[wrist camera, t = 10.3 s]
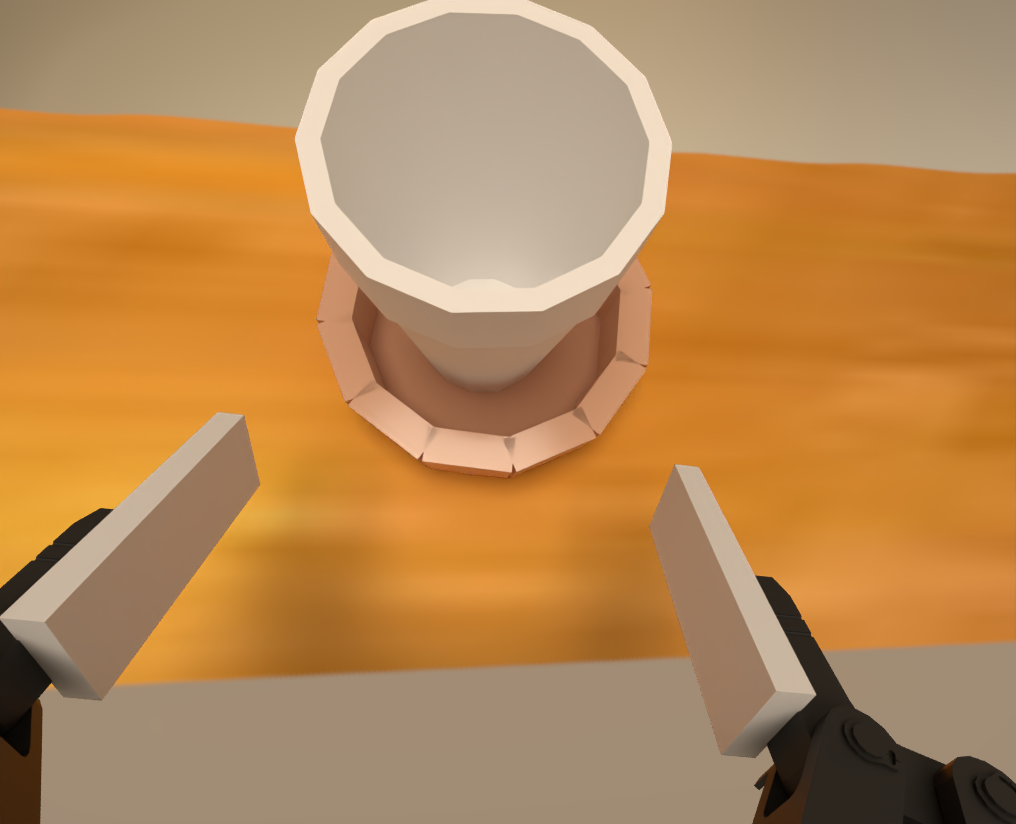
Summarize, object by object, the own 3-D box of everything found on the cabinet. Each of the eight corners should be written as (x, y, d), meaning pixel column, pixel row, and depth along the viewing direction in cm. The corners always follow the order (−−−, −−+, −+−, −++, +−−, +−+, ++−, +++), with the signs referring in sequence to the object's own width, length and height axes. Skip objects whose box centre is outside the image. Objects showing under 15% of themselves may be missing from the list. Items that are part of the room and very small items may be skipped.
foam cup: (467, 225, 25) (456, -60, 13) (603, 318, 25) (735, 117, 12) (356, 353, 23) (213, 167, 11) (501, 458, 23) (530, 393, 10)
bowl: (324, 456, 23) (287, 444, 19) (377, 202, 26) (357, 141, 22) (611, 492, 24) (641, 488, 19) (628, 239, 27) (657, 187, 23)
